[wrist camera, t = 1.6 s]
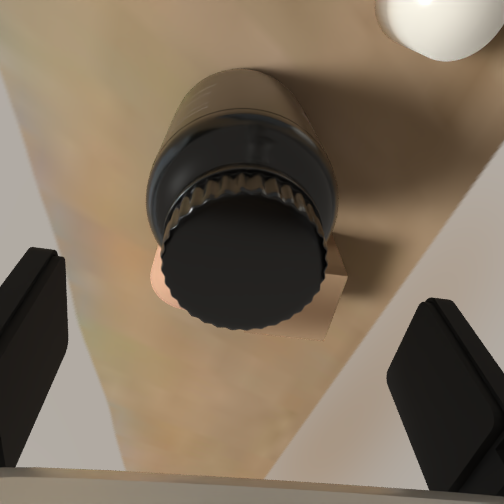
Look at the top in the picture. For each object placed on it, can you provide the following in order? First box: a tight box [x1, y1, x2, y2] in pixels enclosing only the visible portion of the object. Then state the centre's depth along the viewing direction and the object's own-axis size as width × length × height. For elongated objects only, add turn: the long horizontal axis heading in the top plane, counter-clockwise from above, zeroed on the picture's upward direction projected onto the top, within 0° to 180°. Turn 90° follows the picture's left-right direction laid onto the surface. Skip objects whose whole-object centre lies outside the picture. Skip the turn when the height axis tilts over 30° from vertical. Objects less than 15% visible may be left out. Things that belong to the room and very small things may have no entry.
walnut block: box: [244, 233, 348, 341], centre depth 25 cm, size 4×4×4 cm
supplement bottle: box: [146, 69, 339, 331], centre depth 17 cm, size 7×7×12 cm
